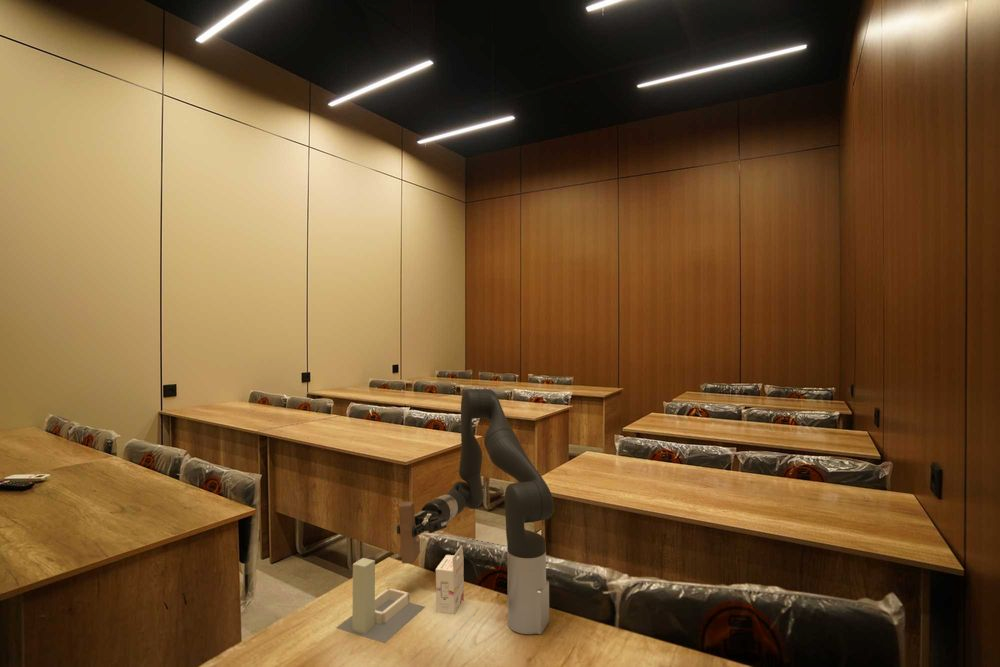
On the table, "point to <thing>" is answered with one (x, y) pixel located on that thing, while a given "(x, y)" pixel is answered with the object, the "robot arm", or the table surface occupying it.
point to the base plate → (387, 615)
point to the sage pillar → (363, 595)
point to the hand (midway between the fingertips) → (405, 531)
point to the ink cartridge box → (450, 583)
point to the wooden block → (408, 533)
